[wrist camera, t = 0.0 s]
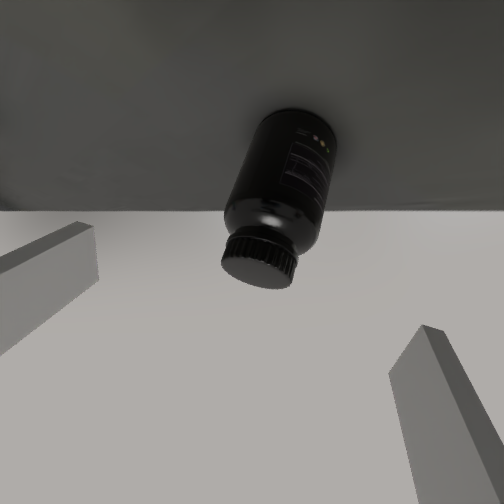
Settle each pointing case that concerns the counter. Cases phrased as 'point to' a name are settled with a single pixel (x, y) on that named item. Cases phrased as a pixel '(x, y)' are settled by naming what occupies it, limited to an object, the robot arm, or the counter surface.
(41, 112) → the counter surface
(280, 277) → the supplement bottle
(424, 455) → the robot arm
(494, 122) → the counter surface
